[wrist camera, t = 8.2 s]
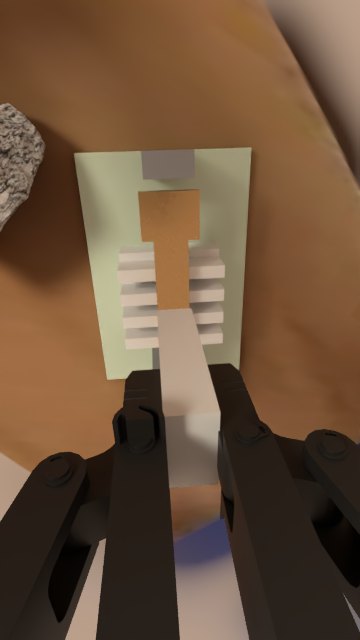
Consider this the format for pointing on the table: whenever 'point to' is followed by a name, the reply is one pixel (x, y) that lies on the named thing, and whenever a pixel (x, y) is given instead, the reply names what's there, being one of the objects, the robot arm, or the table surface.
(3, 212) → the rock
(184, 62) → the table surface
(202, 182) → the heatsink board
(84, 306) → the table surface
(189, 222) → the strap
